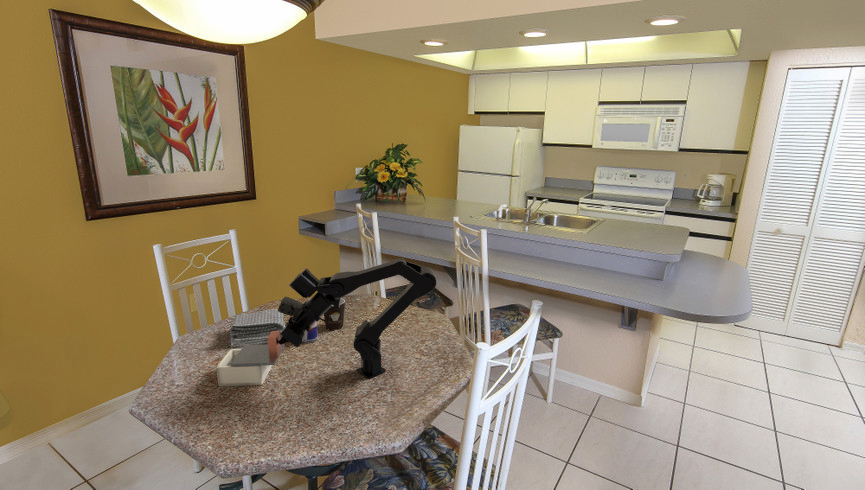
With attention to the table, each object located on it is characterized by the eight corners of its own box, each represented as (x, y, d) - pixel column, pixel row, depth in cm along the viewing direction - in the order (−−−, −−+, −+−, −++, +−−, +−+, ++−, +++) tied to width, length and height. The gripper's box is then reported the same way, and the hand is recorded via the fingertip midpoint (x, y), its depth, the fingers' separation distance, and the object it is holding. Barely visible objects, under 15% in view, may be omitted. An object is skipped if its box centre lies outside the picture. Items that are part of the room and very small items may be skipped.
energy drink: (302, 343, 148) (299, 311, 145) (302, 337, 153) (300, 305, 150) (318, 342, 149) (316, 310, 146) (317, 335, 154) (315, 304, 151)
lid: (284, 346, 133) (283, 326, 131) (274, 365, 122) (272, 343, 120) (244, 347, 132) (242, 327, 130) (230, 366, 121) (228, 344, 119)
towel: (285, 341, 150) (284, 320, 148) (228, 349, 144) (226, 327, 142) (285, 324, 164) (283, 305, 162) (232, 330, 158) (230, 311, 156)
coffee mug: (349, 322, 166) (348, 298, 163) (342, 332, 157) (341, 306, 155) (319, 320, 167) (318, 296, 164) (311, 330, 158) (310, 305, 156)
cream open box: (272, 365, 134) (270, 347, 132) (261, 384, 123) (259, 366, 122) (232, 366, 133) (230, 349, 131) (218, 386, 122) (216, 367, 121)
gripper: (301, 279, 132) (267, 313, 134) (286, 301, 114) (247, 340, 115) (328, 302, 134) (295, 335, 136) (318, 328, 116) (279, 365, 118)
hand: (279, 343), depth 126 cm, fingers closed, pressing on lid
